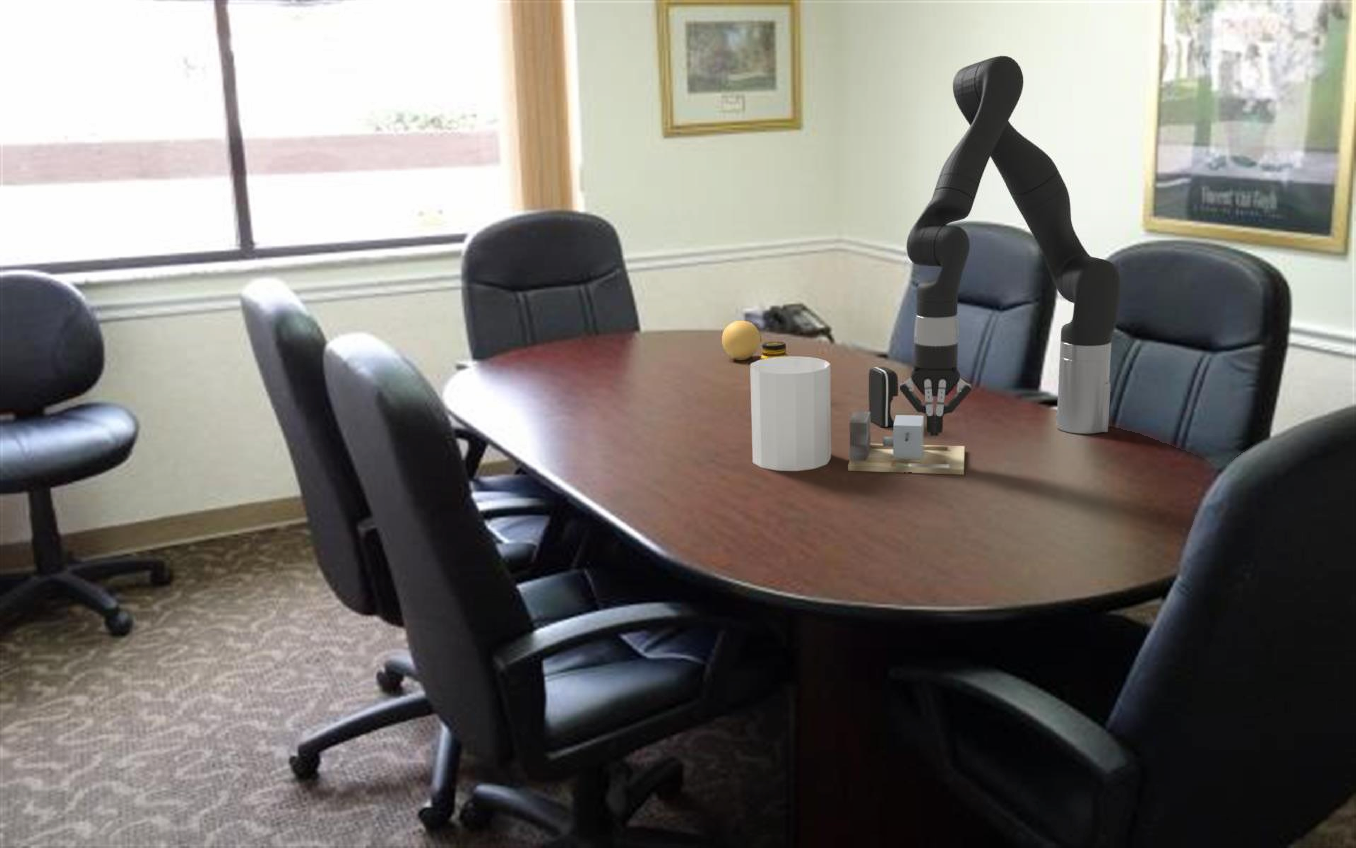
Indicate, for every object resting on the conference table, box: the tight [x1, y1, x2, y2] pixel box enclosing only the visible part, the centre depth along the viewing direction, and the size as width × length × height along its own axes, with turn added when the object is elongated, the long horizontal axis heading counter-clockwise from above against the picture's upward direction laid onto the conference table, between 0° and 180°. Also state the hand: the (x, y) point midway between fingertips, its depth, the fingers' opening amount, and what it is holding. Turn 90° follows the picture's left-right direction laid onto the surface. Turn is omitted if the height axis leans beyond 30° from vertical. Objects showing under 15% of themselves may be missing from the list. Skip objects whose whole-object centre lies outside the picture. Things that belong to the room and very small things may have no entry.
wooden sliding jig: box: [847, 410, 965, 475], centre depth 215 cm, size 20×14×8 cm
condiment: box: [760, 340, 789, 360], centre depth 266 cm, size 7×8×12 cm
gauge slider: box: [882, 414, 925, 459], centre depth 213 cm, size 7×10×6 cm, turn 166°
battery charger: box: [868, 366, 899, 428], centre depth 239 cm, size 7×4×11 cm, turn 16°
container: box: [749, 355, 832, 472], centre depth 217 cm, size 14×14×18 cm
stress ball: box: [721, 319, 762, 361], centre depth 303 cm, size 10×10×10 cm
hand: (934, 434), depth 213 cm, fingers closed
